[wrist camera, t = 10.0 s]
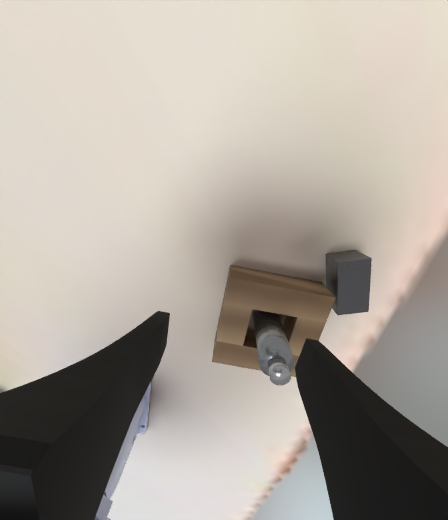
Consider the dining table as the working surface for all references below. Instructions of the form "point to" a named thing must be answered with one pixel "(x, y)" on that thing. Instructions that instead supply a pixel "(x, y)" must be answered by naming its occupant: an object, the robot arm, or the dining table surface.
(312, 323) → the socket block
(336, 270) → the square bar
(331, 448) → the robot arm
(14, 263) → the dining table surface
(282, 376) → the round bit
